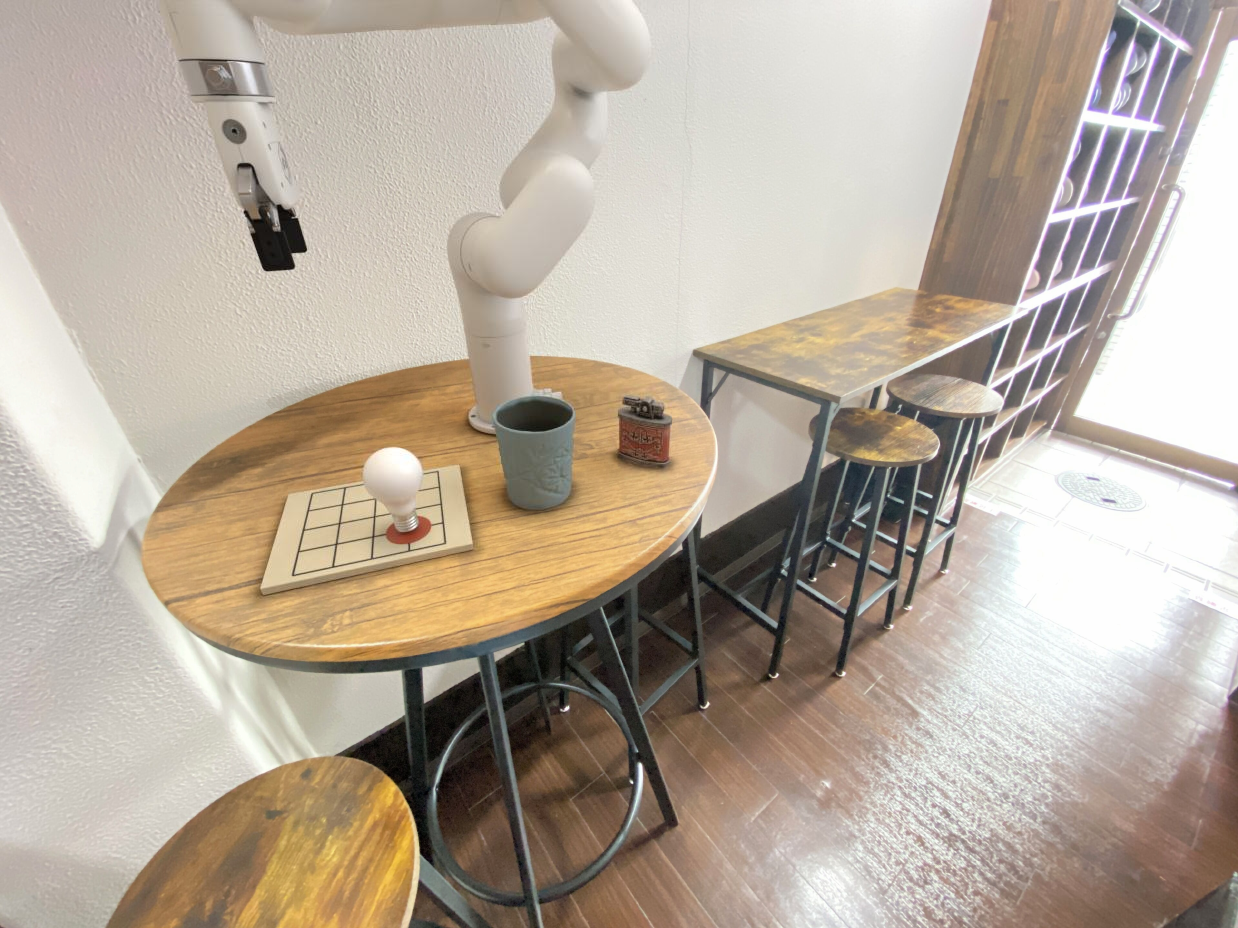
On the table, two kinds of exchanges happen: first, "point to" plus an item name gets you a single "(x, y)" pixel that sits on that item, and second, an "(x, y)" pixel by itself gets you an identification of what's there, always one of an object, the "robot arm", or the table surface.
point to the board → (364, 532)
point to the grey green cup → (536, 450)
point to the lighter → (644, 432)
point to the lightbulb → (395, 484)
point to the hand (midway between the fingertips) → (287, 261)
